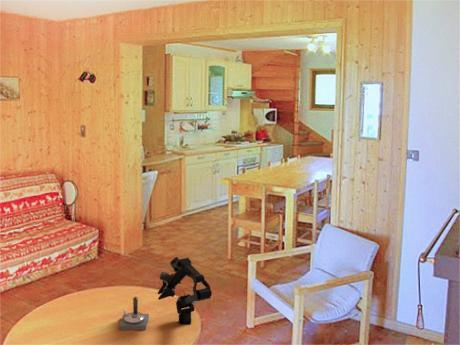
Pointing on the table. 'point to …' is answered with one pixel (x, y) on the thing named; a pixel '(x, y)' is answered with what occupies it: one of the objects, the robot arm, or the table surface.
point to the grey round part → (134, 314)
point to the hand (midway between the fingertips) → (158, 296)
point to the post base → (137, 326)
